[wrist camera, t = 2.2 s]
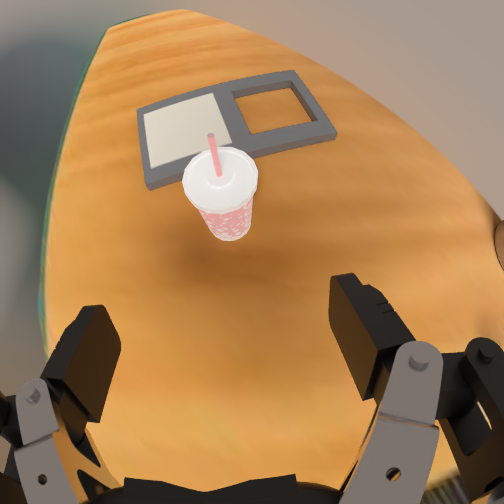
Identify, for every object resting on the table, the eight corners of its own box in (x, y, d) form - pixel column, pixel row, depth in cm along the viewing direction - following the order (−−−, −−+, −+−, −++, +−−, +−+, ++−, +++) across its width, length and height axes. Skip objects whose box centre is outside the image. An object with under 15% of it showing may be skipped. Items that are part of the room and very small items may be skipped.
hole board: (292, 76, 38) (293, 68, 36) (334, 139, 34) (337, 131, 32) (139, 116, 36) (136, 108, 35) (149, 191, 32) (145, 183, 31)
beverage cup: (233, 259, 29) (213, 191, 16) (190, 225, 31) (147, 146, 17) (269, 216, 31) (277, 128, 18) (226, 186, 32) (209, 94, 19)
